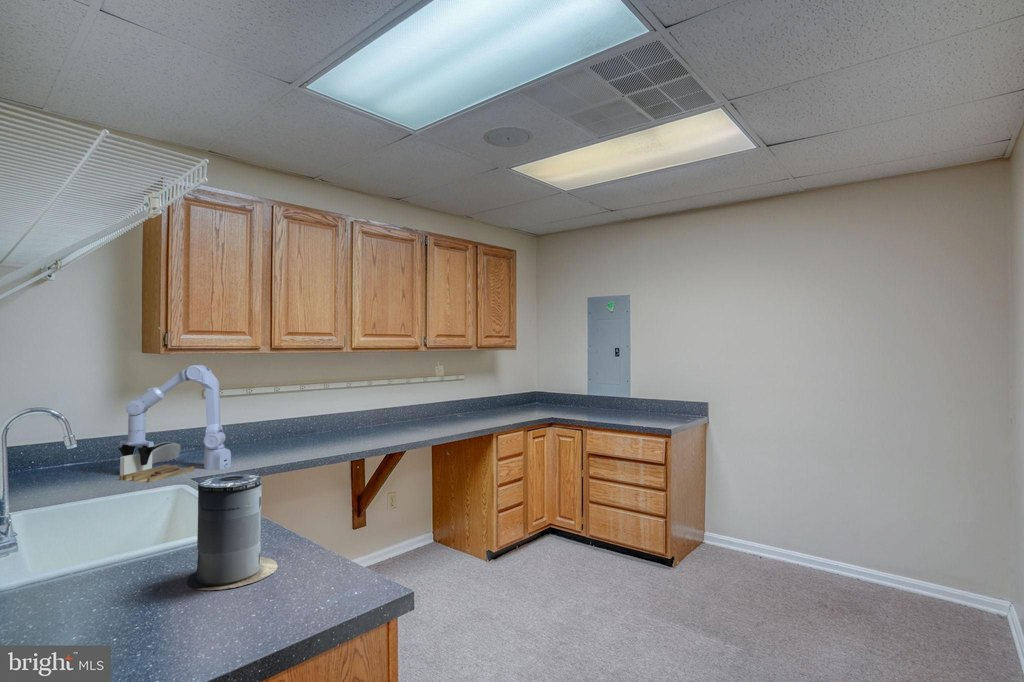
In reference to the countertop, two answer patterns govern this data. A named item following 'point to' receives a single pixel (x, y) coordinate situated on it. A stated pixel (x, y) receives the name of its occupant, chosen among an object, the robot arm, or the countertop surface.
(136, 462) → the white rectangular block
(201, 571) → the trash can
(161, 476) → the rack
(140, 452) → the robot arm
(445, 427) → the countertop surface
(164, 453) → the grey curved slab
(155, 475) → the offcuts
